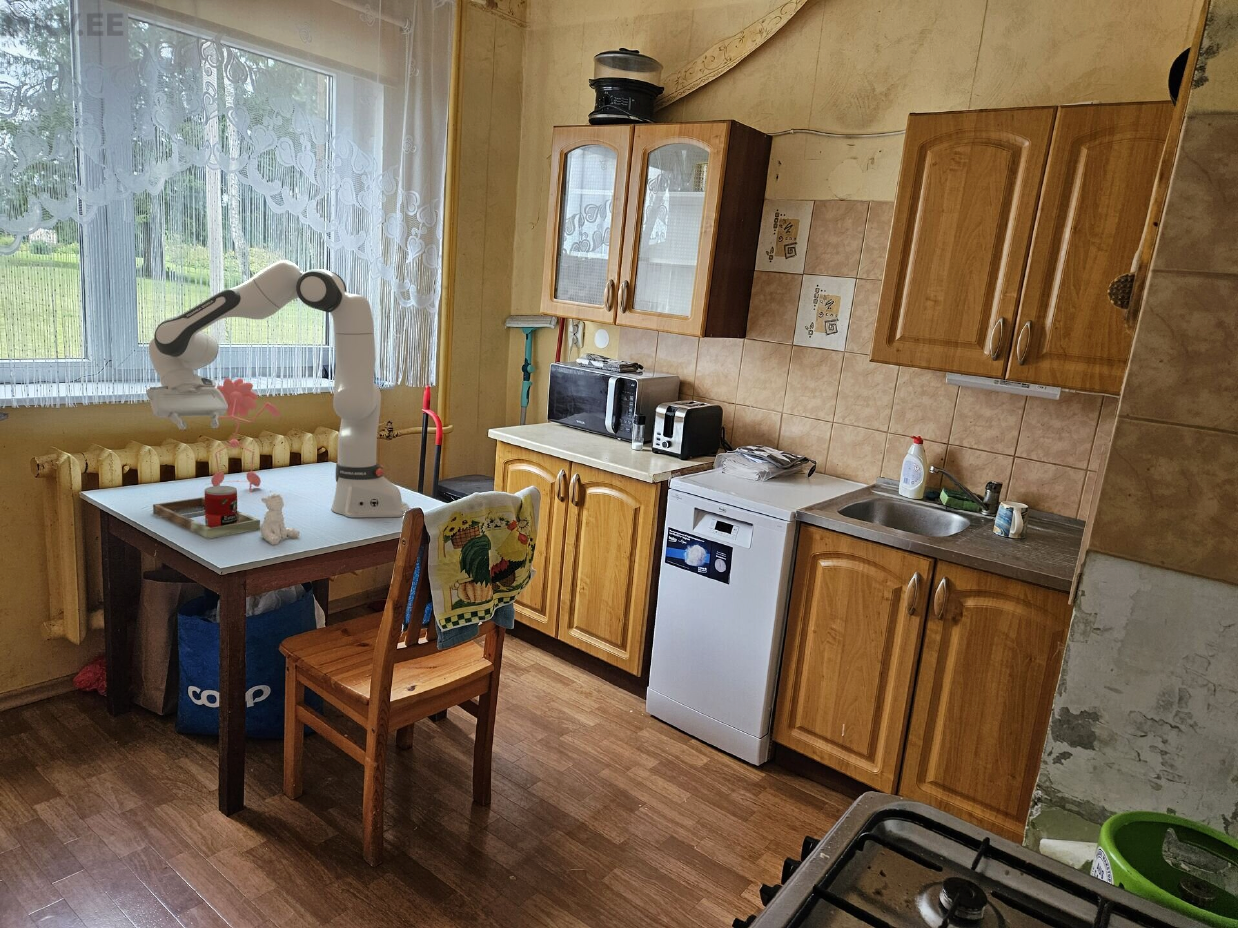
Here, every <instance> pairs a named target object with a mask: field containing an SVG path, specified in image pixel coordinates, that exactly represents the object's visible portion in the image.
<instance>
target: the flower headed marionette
mask: <svg viewBox="0 0 1238 928" xmlns="http://www.w3.org/2000/svg"><path fill="white" fill-rule="evenodd" d="M253 387H254V385H253V383H252V382H244V380H243V378H237V379H235V380H234V381H233V380H232V379H230V378H229V377H225V379H224V380H223V384H222V385H221V384H219V385H216V388H217V389H218V390H219V391H220V392H221V393H222V395H223V397H224V398H225V400H226V403H227V405H228V408H227V410H226V412H227V415H225V416H224V415H222V416H218V419H226V418H227V419H228V418H230V419H232V420H233V421H234V422H235V423H237V425H236V428H235V432H234V437H233V439H231V440H230V441H229V444H227V445H226V446H224V447H223V448H221V449H219V450H217V451H216V452H215V456H214V457H215V462H216V469H217V472H215V473H214V474H213V476H212V477H211V479H210V480H211V481H210V482H211V483H208V485H210V484H211V485H212V486H221V484H222V483H223V482H224V480H225V473H224V472H223V471H220V469H219V463H218V455H217V454H218V453H220V452H221V451H223V450H224V449H226V448H228V447H231V448H238V447H241V448H242V449H245V450H247V451H248V452H250V453H252V454H251V466H250V471H248V472H246V480H244V481H243V480H233V481H230V480H229V481H227V483H234V482H236V483H237V482H239V483H249V489H248V490H249V491H248V492H249V493H252V485H253V486H255V487H257V488H259V487H260V484H261V482H262V481H261V478H260V476H259V475H258V474H257V473H256V472H254V471H253V467H254V466H253V465H254V455H255V454H254V451H252V450H250V449H249V448H247V447H245V446H243V445H242V444H240V441H239V440H237V439H236V437H237V435H238V431H239V429H240V428H239V427H240V425H241V424H240V422H239V421H238V420H240V421H242V422H245V423H249V424H252V423H254V421H255V420H256V419H257V417H259V415H261V413H262V412H263V411H264V409H266V410H267V411H268V412H269V413H270V414H271V415H272V416H274V417H275V418H278V419H279V418H280V416H281V414H280V411H279V409H278V408H277V407H276V406H275V405H273V404H272V403H270V402H268V401H267V402H265V404H264V406H263V407H262V408H261V409H260V410H259V411H258V412H257V413H256V415H254V417H253V418H252V420H247V419H245V418H246V417H248V414H249V410H252V411H253V410H255V409H256V408H257V404H256V402H255V400H257V399H258V397H259V396H258V394H257V393H256V392H254V391H252V389H253ZM238 415H239V416H241V417H242V418H241V417H238ZM243 417H244V418H243ZM211 420H213V418H211ZM204 485H205V486H206V485H207V483H204ZM269 492H270V493H271V492H272V490H270V491H269Z"/></svg>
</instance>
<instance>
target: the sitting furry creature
mask: <svg viewBox="0 0 1238 928" xmlns="http://www.w3.org/2000/svg"><path fill="white" fill-rule="evenodd" d="M260 501H261V502H262V503H264V504H265V507H266V509H267V511H266V512H265V514H264V517H263V521H262V523H260V529H259V531H260V532H259V533H260V535H261V537H262V538H263V539H264V540H265V541H267V542H268V543H269V544H270V545H273V546H276V545H278V544H279V542H280V541H283V540H284V541H285V540H287V539H299V537H300V530H298V529H296V528H294V527H285V526H286V524H285V522H284V520H285V518H284V515H283V508H284V506H285V503H284V501H283V497H282V496H281V495H280V494H278V493H272V494H270V495H268V496H267V497H262V498H260Z"/></svg>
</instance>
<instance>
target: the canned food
mask: <svg viewBox="0 0 1238 928" xmlns="http://www.w3.org/2000/svg"><path fill="white" fill-rule="evenodd" d="M204 498H205V510H204V511H205V515H204V521H205V522H204V525H205V526H207V527H210V528H212V527H218V526H223V525H229V524H235V523H238V522H237V511H238V489H237V487H234V486H230V485H220V486H213V485H212V486H209V487H206V488H205V489H204Z"/></svg>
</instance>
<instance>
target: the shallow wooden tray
mask: <svg viewBox="0 0 1238 928" xmlns="http://www.w3.org/2000/svg"><path fill="white" fill-rule="evenodd" d="M152 511H153V512H152V513H153V514H154V515H156V514H157V515H156V516H158V517H160V516H161V517H160V518H163V519H165V520H167V521H169V522H172V523H174V524H176V525H178V526H180V527H183V528H185V529H187V530H188V531H191V532H193V533H195V534H196V535H197V534H198V535H200V536H202V537H204V538H206V539H207V540H209V539H214V538H220V537H226V536H230V535H236V534H240V533H247V532H251V531H256V530H260V527H261V520H260V519H258V518H256V517H253V516H251V515H249V514H246V513H243V512H241V511H239V510H237V523H235V524H229V525H223V526H218V527H212V528H210V527H207V526H205V524H203V523H200V522H198V521H196V520H193V519H191V518H194V517H200V516H205V496H203V497H202V496H201V497H194V498H187V499H183V500H182V499H181V500H174V501H169V502H161V503H155V504H152Z"/></svg>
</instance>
